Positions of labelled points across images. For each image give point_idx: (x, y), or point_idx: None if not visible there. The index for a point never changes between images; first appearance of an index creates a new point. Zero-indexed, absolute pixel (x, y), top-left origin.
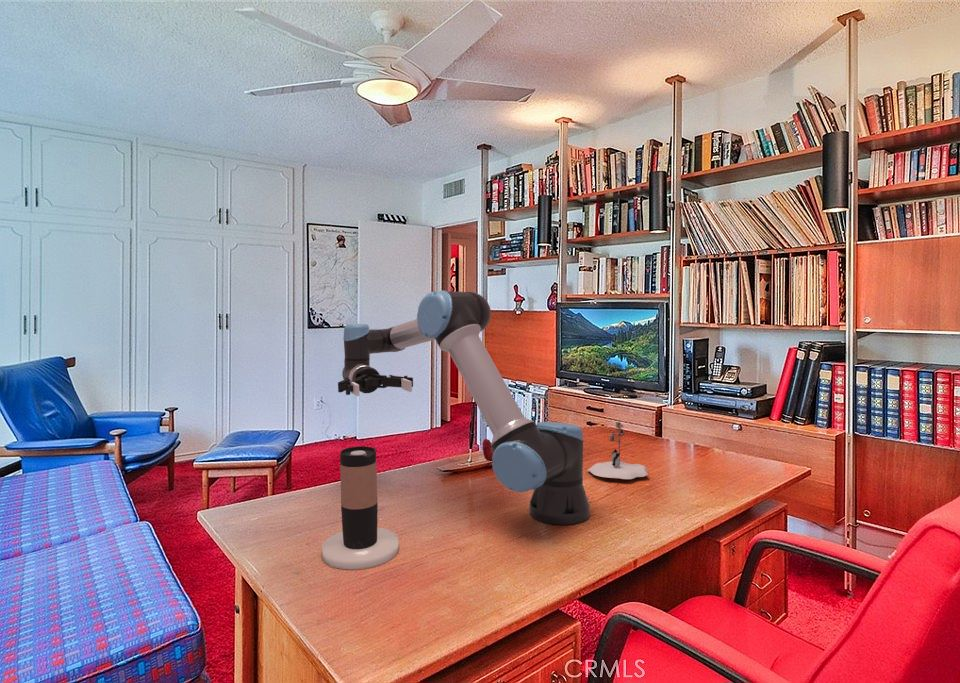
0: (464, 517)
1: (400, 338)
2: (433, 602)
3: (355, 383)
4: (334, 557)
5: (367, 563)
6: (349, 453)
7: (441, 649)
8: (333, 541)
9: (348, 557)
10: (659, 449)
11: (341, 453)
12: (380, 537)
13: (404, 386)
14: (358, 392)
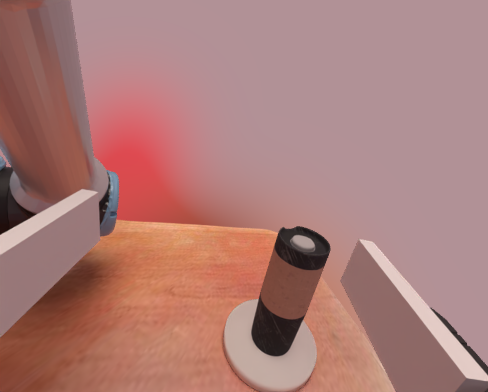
0: (84, 361)
1: None
2: (235, 251)
3: (399, 285)
4: None
5: None
6: (315, 254)
7: (248, 229)
8: (303, 357)
9: None
10: None
11: (327, 241)
12: (245, 334)
13: (39, 277)
14: (349, 268)
